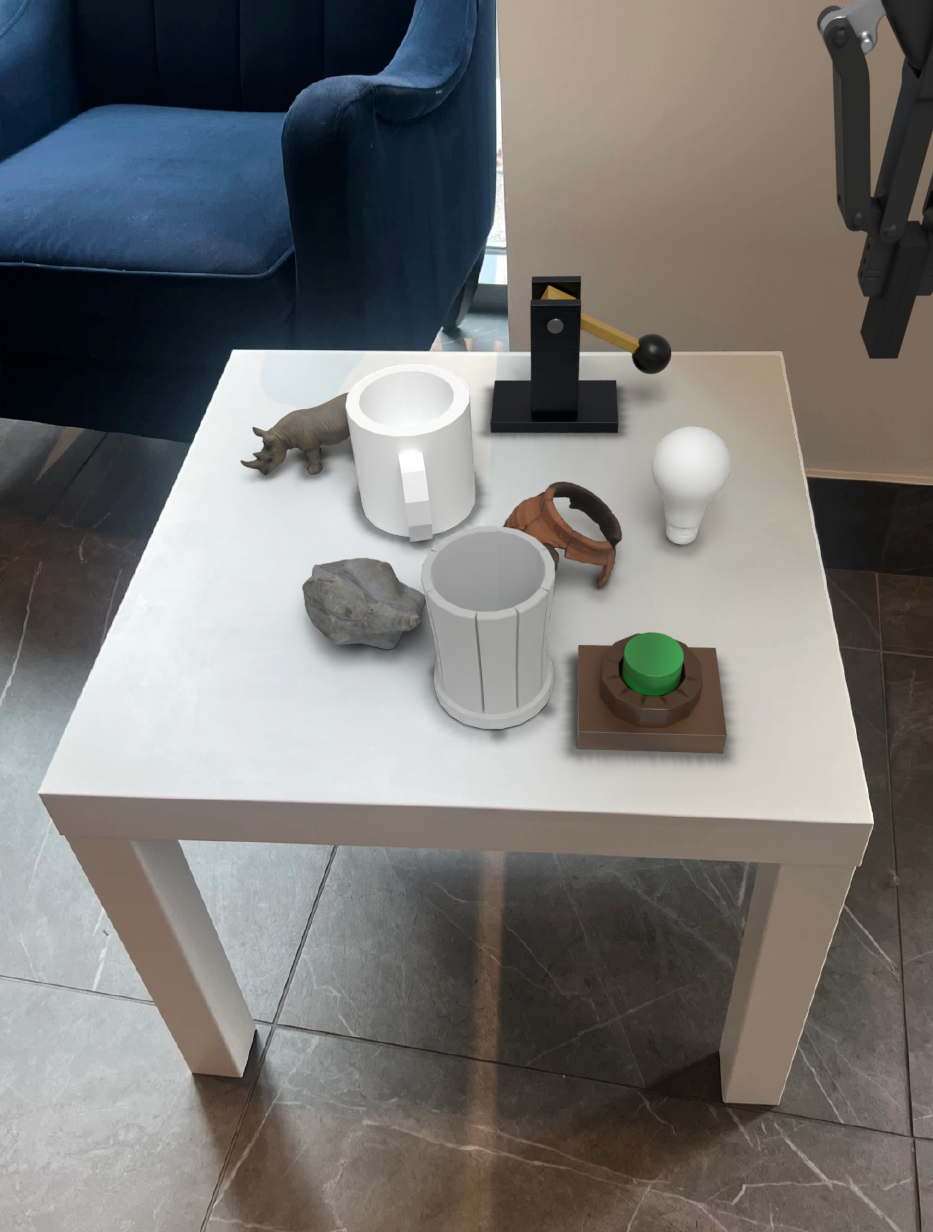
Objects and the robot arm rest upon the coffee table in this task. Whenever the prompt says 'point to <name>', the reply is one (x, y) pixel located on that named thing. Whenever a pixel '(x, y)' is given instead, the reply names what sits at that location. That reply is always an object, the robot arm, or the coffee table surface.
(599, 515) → the broken clay pot
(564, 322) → the switch bracket
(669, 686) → the light button
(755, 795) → the coffee table surface
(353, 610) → the fossil
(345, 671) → the coffee table surface
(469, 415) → the mug
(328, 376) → the coffee table surface
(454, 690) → the cup
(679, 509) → the lightbulb
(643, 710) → the button block
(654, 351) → the switch lever
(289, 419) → the rhino figurine
